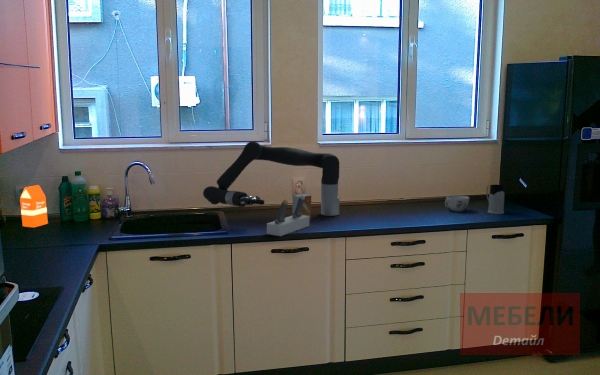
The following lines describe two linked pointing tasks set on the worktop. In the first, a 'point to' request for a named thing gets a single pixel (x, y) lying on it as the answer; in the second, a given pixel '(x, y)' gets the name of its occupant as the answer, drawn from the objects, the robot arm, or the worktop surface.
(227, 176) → the robot arm
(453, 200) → the teacup
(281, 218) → the tan tipped lever
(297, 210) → the grey lever
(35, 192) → the orange juice
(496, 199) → the glass holder
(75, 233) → the worktop surface
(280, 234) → the switch box
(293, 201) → the small box
